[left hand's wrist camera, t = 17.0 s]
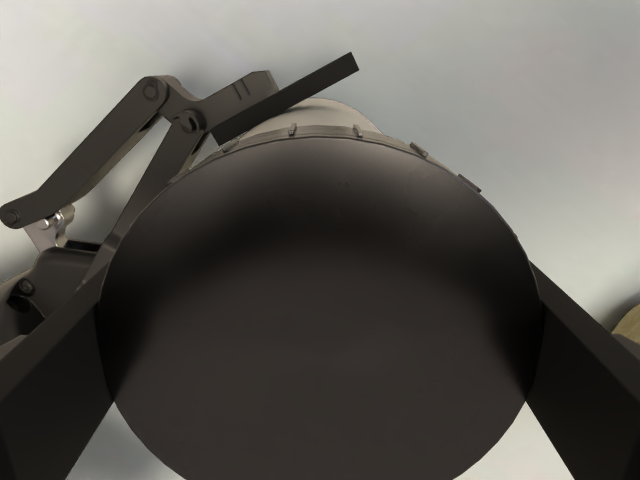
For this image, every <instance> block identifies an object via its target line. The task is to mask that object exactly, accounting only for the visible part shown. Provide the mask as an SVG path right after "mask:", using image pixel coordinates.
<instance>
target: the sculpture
mask: <svg viewBox="0 0 640 480" xmlns="http://www.w3.org/2000/svg"><path fill="white" fill-rule="evenodd" d="M611 334H621V335H623V336H625V337H627V338H629V339H630V340H632V341H634V342H636V343H638V344H640V304H638V305H637V306H635V307H634V308H633V309H631V310H630V311H629V312H628V313H627V314H626V315H625V316H624V317H623V318H622V319H621V320H620V322H619V323H618V324H617V326H616V327H615V329H614V330H613V332H612V333H611Z"/></svg>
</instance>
